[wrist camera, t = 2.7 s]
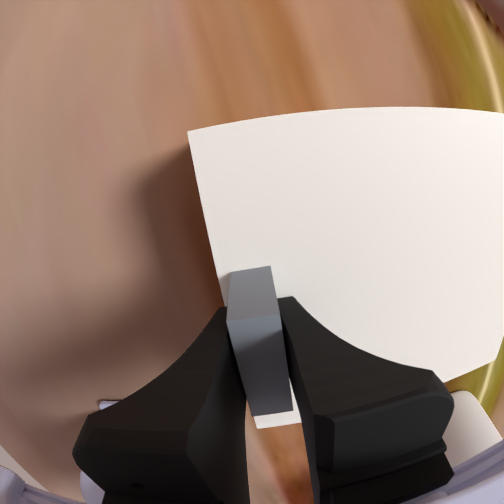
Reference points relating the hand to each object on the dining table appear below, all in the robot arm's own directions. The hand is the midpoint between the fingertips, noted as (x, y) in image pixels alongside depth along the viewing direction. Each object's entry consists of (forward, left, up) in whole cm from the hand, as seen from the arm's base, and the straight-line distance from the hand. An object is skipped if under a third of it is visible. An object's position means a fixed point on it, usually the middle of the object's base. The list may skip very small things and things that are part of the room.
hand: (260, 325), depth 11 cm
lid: (+6, 0, -1) cm, 6 cm away
